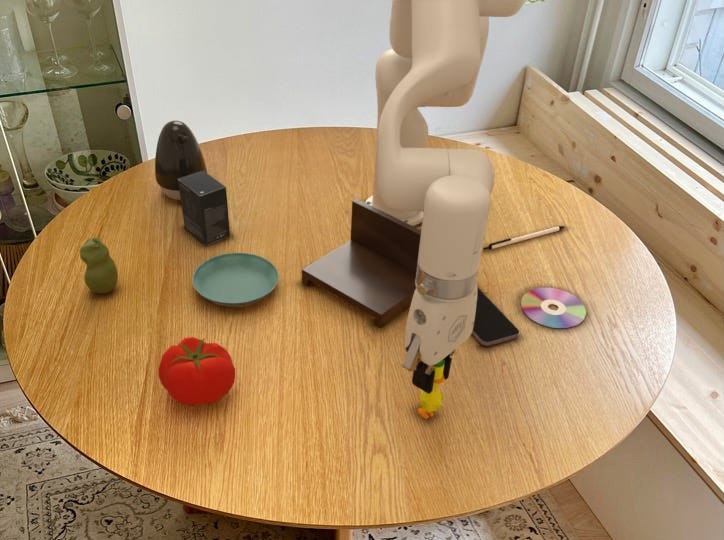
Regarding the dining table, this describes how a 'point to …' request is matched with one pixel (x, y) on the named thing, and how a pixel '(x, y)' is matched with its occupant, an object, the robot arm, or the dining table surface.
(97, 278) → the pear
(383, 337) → the dining table surface
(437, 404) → the toy figure
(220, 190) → the box
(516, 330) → the smartphone
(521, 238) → the pen
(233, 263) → the saucer
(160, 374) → the tomato
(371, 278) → the shelf
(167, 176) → the dark brown egg shape
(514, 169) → the dining table surface
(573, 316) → the cd
